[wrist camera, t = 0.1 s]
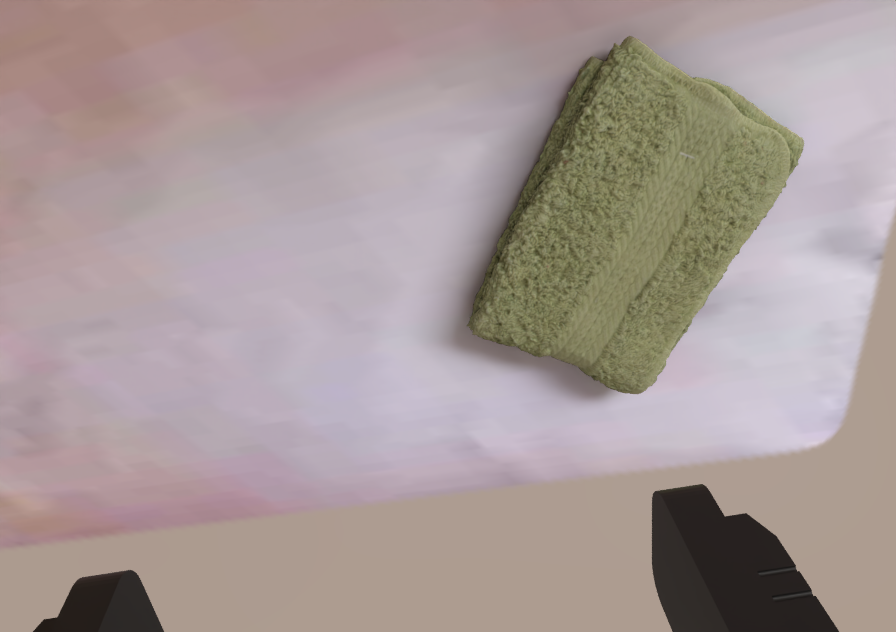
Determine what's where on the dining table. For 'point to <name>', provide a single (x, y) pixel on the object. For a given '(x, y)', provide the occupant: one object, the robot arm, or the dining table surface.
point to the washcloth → (631, 217)
